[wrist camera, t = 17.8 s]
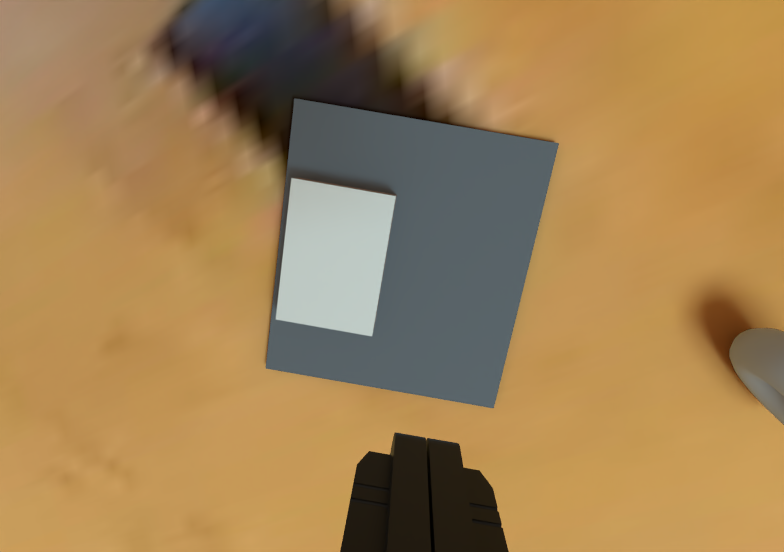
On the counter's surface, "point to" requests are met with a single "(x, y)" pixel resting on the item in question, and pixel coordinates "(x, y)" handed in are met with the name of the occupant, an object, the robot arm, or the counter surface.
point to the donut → (761, 366)
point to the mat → (423, 249)
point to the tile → (334, 255)
